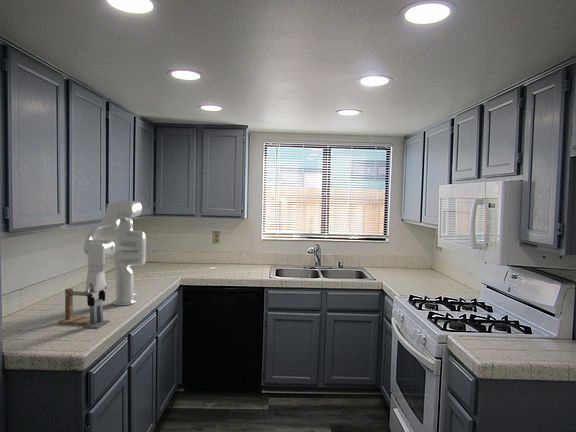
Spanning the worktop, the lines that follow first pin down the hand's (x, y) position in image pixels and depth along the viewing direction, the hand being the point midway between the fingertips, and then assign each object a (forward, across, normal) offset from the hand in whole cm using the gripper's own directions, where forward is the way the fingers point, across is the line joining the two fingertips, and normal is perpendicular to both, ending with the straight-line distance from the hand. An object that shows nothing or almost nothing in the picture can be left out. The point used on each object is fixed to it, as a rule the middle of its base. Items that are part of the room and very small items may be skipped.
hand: (96, 303), depth 204 cm
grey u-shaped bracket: (+10, 0, 0) cm, 10 cm away
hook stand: (+10, -4, -11) cm, 16 cm away
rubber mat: (+10, 0, 0) cm, 10 cm away
